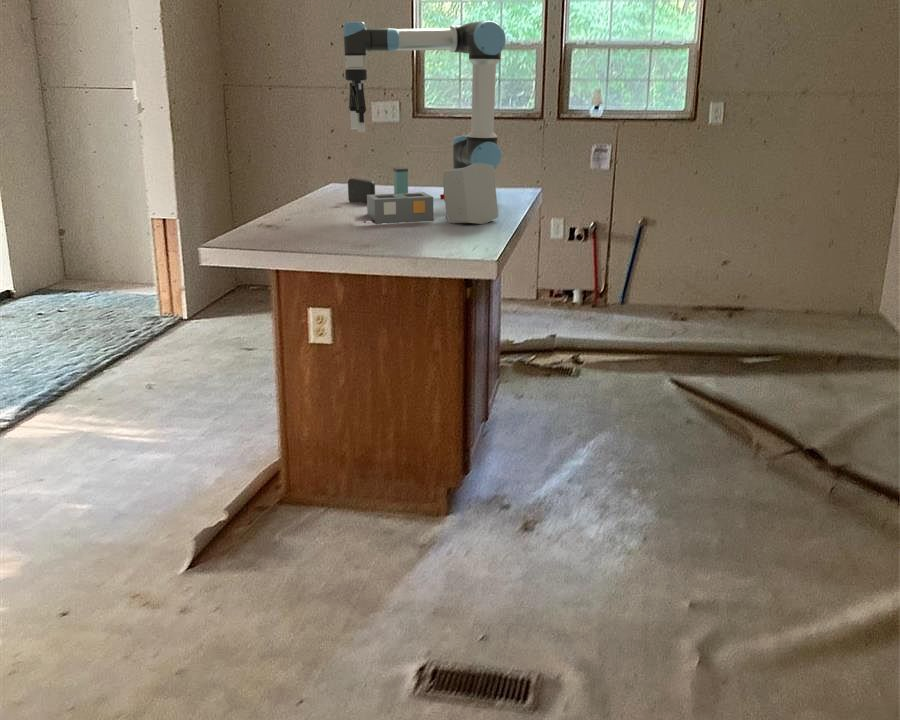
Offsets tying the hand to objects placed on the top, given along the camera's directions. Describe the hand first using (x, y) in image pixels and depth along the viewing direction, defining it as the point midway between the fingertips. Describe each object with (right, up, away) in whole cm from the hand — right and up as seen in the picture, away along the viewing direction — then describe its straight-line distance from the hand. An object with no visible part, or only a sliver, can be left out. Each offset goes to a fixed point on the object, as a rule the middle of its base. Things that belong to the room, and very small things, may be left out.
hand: (358, 131), depth 320 cm
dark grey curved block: (0, -25, +12) cm, 28 cm away
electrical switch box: (+39, -36, -21) cm, 57 cm away
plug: (+16, -29, -5) cm, 33 cm away
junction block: (+16, -35, -18) cm, 42 cm away
